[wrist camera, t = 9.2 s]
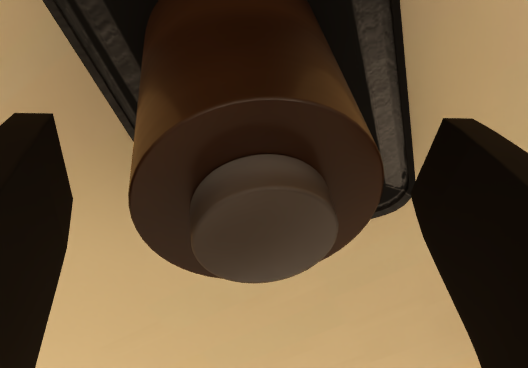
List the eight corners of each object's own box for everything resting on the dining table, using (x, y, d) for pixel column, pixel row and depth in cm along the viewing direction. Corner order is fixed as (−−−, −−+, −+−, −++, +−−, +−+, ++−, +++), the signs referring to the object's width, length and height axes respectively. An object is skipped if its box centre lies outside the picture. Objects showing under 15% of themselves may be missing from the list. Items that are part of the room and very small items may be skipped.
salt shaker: (345, 13, 13) (457, 202, 8) (250, 128, 15) (288, 334, 10) (202, -92, 10) (225, 75, 5) (116, 61, 13) (77, 279, 8)
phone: (357, -483, 7) (418, 206, 17) (337, -459, 7) (407, 184, 18) (-135, -262, 7) (209, 266, 18) (-104, -263, 8) (208, 243, 19)
